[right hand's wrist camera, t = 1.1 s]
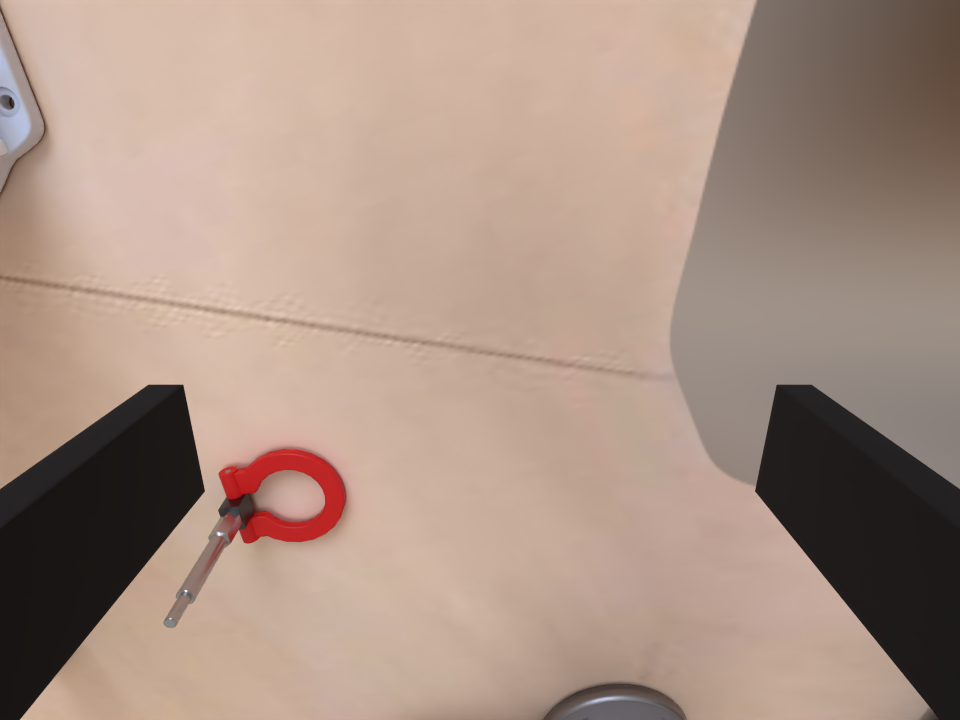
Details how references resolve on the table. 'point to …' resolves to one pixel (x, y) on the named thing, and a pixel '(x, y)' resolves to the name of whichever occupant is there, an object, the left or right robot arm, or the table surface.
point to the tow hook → (260, 515)
